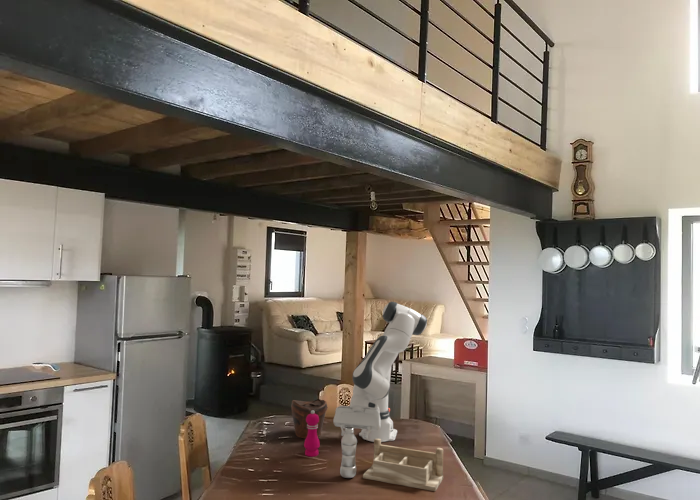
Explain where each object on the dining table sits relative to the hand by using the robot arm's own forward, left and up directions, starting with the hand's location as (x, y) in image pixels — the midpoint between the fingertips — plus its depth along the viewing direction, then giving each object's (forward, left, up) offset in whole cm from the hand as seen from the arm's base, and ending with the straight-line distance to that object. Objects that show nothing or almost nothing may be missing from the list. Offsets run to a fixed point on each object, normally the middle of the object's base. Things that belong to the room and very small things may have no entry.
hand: (354, 436), depth 225 cm
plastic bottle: (+4, -1, -15) cm, 16 cm away
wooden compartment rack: (-4, +20, -15) cm, 26 cm away
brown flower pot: (-38, -40, -15) cm, 57 cm away
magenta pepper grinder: (-13, -26, -15) cm, 32 cm away
